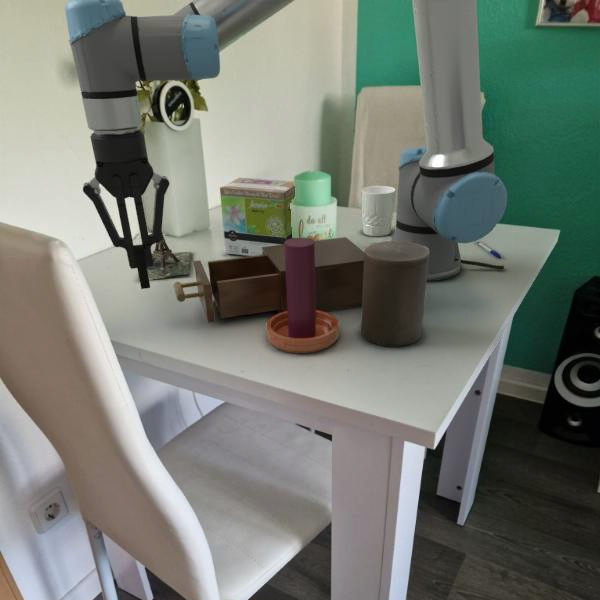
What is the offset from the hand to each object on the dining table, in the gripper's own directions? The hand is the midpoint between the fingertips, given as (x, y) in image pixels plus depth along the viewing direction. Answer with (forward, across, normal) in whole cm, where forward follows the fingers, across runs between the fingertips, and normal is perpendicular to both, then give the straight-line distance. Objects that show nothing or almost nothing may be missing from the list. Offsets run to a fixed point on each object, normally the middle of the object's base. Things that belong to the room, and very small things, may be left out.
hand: (145, 285), depth 93 cm
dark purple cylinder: (+6, -23, +15) cm, 28 cm away
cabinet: (+6, -30, 0) cm, 31 cm away
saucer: (+6, -23, +15) cm, 28 cm away
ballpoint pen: (+7, -73, -12) cm, 75 cm away
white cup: (+7, -56, -33) cm, 65 cm away
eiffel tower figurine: (+7, -5, -27) cm, 28 cm away
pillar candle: (+7, -37, +18) cm, 42 cm away
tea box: (+7, -27, -29) cm, 40 cm away
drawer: (+6, -15, 0) cm, 16 cm away
